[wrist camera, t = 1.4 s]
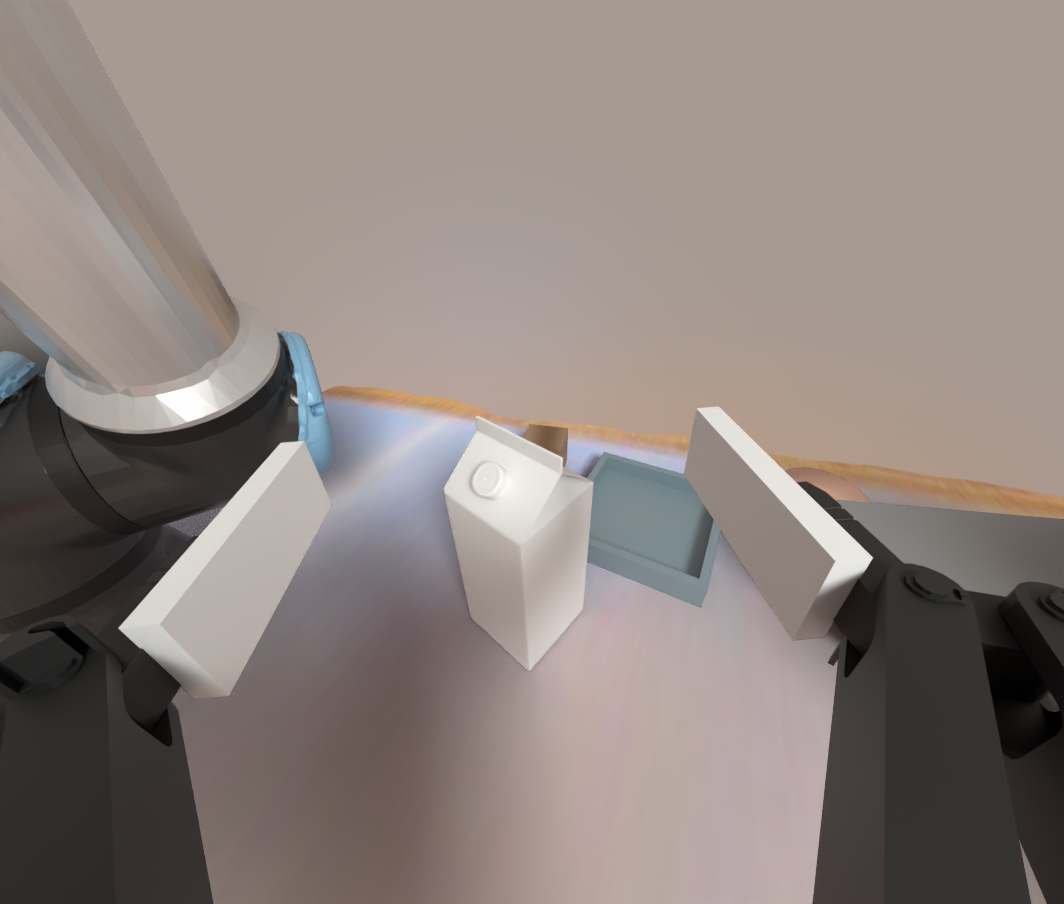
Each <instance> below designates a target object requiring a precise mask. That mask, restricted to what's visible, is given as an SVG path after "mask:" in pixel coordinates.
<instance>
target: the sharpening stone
mask: <svg viewBox="0 0 1064 904" xmlns="http://www.w3.org/2000/svg"><path fill="white" fill-rule="evenodd" d="M834 500H835V499H834ZM836 501H837V502H838V503H839V504H840V505H841V508H842V509H845V510H846V511H848V512H849V513H850V514H851V515H852V516H853V517H854V520H857V521H858V522H860V523H861V524H862V525H863V526H864V527H865V528H866V529H867V530H868V531H869V532H870V533H872V534H873V535H874V536H875V537H876V538H877V539H878V540H879V541H880V542H881V543H882V544H884V545H885V546H886V547H887V548H888V549H889V550H890V551H891V552H892V553H893V554H894V555H896V556H897V557H898V558H899V559H900V560H901V561H902V562H903V563H912V564H916V565H920V566H924V567H928V568H930V569H932V570H935V571H937V572H939V573H942V574H944V575H945V576H947V577H948V578H950V579H951V580H953V581H955V582H956V583H958V584H959V585H960V586H961V587H962V588H963V589H964V590H968V591H974V592H980V593H986V594H993V595H999V596H1005V597H1006V596H1007V595H1008V594H1009V593H1010V592H1011V591H1012V590H1013V589H1014V588H1015V587H1016V586H1017V585H1018V584H1020V583H1024V582H1028V581H1031V582H1040V583H1047V584H1050V585H1053V586H1057V587H1060V588H1064V519H1054V518H1042V517H1031V516H1019V515H1008V514H996V513H985V512H973V511H961V510H950V509H938V508H927V507H915V506H904V505H892V504H881V503H869V502H858V501H846V500H836ZM1048 697H1049V699H1050V700H1051V702H1052V704H1053V705H1054V706H1055V708H1056V709H1059V707H1058V704H1057V702H1056V701H1055V699H1054V698H1053V696H1052V694H1051V693H1050V694H1048ZM1059 710H1060V709H1059Z"/></svg>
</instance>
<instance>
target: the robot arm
mask: <svg viewBox="0 0 1064 904" xmlns="http://www.w3.org/2000/svg"><path fill="white" fill-rule="evenodd" d="M0 314H2V315H3V316H4V317H5V318H6V319H7V320H9V321H10V322H11V323H12V324H13V325H14V326H16V327H17V328H18V329H19V330H20V331H21V332H22V333H24V334H25V335H26V336H27V337H28V338H30V339H31V340H32V341H33V342H34V343H35V344H36V345H38V346H39V347H40V348H41V349H42V350H43V351H45V352H46V353H47V354H48V355H49V356H50V358H49V361H48V363H47V366H46V373H45V375H41V374H40V372H39V371H40V368H39V367H38V365H37V364H36V363H34V362H31V361H29V360H28V359H27V358H25V357H24V356H22V355H20V354H17V353H14V352H6V351H4V352H1V353H0V904H213V899H212V893H211V888H210V882H209V877H208V872H207V866H206V861H205V855H204V850H203V844H202V839H201V833H200V828H199V822H198V817H197V811H196V806H195V800H194V795H193V790H192V784H191V779H190V773H189V768H188V762H187V757H186V751H185V746H184V740H183V735H182V729H181V724H180V718H179V713H178V710H177V708H176V707H175V705H174V704H173V703H172V702H171V700H172V699H173V697H174V696H175V694H176V693H177V691H178V689H179V688H180V686H181V687H182V688H183V689H184V690H185V691H186V692H188V693H189V694H190V695H191V696H192V697H193V698H194V699H204V698H214V697H224V696H229V695H230V693H231V692H232V690H233V688H234V686H235V684H236V682H237V680H238V679H239V677H240V675H241V673H242V671H243V669H244V667H245V666H246V664H247V662H248V660H249V658H250V656H251V654H252V653H253V651H254V649H255V647H256V645H257V643H258V641H259V640H260V638H261V636H262V634H263V632H264V630H265V628H266V627H267V625H268V623H269V621H270V619H271V617H272V615H273V614H274V612H275V610H276V608H277V606H278V604H279V602H280V601H281V599H282V597H283V595H284V593H285V591H286V589H287V587H288V586H289V584H290V582H291V580H292V578H293V576H294V574H295V573H296V571H297V569H298V567H299V565H300V563H301V561H302V560H303V558H304V556H305V554H306V552H307V550H308V548H309V547H310V545H311V543H312V541H313V539H314V537H315V535H316V534H317V532H318V530H319V528H320V526H321V524H322V522H323V521H324V519H325V517H326V515H327V513H328V511H329V509H330V508H331V506H332V503H331V501H330V498H329V496H328V494H327V492H326V489H325V487H324V485H323V483H322V480H321V478H320V476H319V475H321V474H324V473H325V472H327V471H328V470H329V469H330V468H331V466H332V465H333V463H334V459H335V450H334V443H333V438H332V433H331V429H330V424H329V420H328V416H327V413H326V410H325V408H324V401H323V398H322V392H321V388H320V385H319V381H318V377H317V374H316V370H315V367H314V364H313V361H312V357H311V354H310V351H309V349H308V346H307V344H306V341H305V339H304V338H303V337H302V336H301V335H299V334H297V333H287V332H284V331H281V332H276V330H275V328H274V326H273V325H272V323H271V322H270V320H269V319H268V318H267V317H266V315H265V314H263V313H262V312H261V311H260V310H259V309H257V308H256V307H254V306H252V305H250V304H249V303H246V302H244V301H242V300H240V299H237V298H234V297H231V296H229V295H228V293H227V291H226V290H225V288H224V286H223V284H222V283H221V280H220V279H219V277H218V275H217V273H216V271H215V270H214V268H213V266H212V264H211V262H210V260H209V259H208V257H207V255H206V253H205V251H204V249H203V248H202V246H201V244H200V242H199V240H198V238H197V236H196V235H195V233H194V231H193V229H192V227H191V225H190V224H189V222H188V220H187V218H186V216H185V214H184V213H183V211H182V209H181V207H180V205H179V203H178V202H177V200H176V198H175V196H174V194H173V192H172V190H171V189H170V187H169V185H168V183H167V182H166V179H165V178H164V176H163V174H162V172H161V170H160V168H159V167H158V165H157V163H156V161H155V159H154V157H153V156H152V154H151V152H150V150H149V148H148V146H147V145H146V143H145V141H144V139H143V137H142V135H141V134H140V132H139V130H138V128H137V126H136V124H135V123H134V121H133V119H132V117H131V115H130V114H129V112H128V110H127V108H126V106H125V104H124V102H123V101H122V99H121V97H120V95H119V93H118V92H117V90H116V88H115V86H114V84H113V82H112V81H111V79H110V77H109V75H108V73H107V71H106V70H105V68H104V66H103V64H102V62H101V60H100V58H99V57H98V55H97V53H96V51H95V49H94V47H93V46H92V44H91V42H90V40H89V38H88V36H87V35H86V33H85V31H84V29H83V27H82V26H81V24H80V22H79V20H78V18H77V16H76V14H75V13H74V11H73V9H72V7H71V5H70V3H69V2H68V0H0ZM684 475H685V477H686V478H687V480H688V481H689V483H690V484H691V486H692V487H693V489H694V490H695V492H696V493H697V495H698V496H699V498H700V499H701V501H702V503H703V504H704V506H705V507H706V509H707V510H708V512H709V513H710V515H711V516H712V518H713V519H714V521H715V522H716V524H717V525H718V527H719V529H720V530H721V532H722V533H723V535H724V536H725V538H726V539H727V541H728V542H729V544H730V545H731V547H732V548H733V550H734V551H735V553H736V555H737V556H738V558H739V559H740V561H741V562H742V564H743V565H744V567H745V568H746V570H747V571H748V573H749V574H750V576H751V577H752V579H753V581H754V582H755V584H756V585H757V587H758V588H759V590H760V591H761V593H762V594H763V596H764V597H765V599H766V600H767V602H768V603H769V605H770V607H771V608H772V610H773V611H774V613H775V614H776V616H777V617H778V619H779V620H780V622H781V623H782V625H783V626H784V628H785V629H786V631H787V633H788V634H789V636H790V637H791V639H792V640H803V639H813V638H823V637H825V635H826V634H827V632H828V631H829V629H830V627H831V626H832V624H833V622H835V623H836V625H837V626H838V627H839V629H840V630H841V631H842V632H843V634H844V635H845V636H844V637H843V639H842V640H841V642H840V644H839V645H838V647H837V648H836V650H835V651H834V653H833V654H832V656H831V658H830V660H829V662H828V663H829V664H831V665H833V666H834V664H835V663H836V661H837V660H838V667H837V677H836V686H835V696H834V705H833V715H832V724H831V734H830V743H829V753H828V762H827V772H826V781H825V791H824V800H823V810H822V819H821V829H820V838H819V848H818V857H817V867H816V876H815V886H814V895H813V904H1031V900H1030V895H1029V890H1028V885H1027V879H1026V874H1025V869H1024V864H1023V858H1022V853H1021V848H1020V843H1019V840H1020V842H1021V845H1022V847H1023V849H1024V852H1025V854H1026V856H1027V858H1028V861H1029V863H1030V865H1031V868H1032V870H1033V872H1034V875H1035V877H1036V879H1037V882H1038V884H1039V886H1040V889H1041V891H1042V893H1043V895H1044V898H1045V900H1046V902H1047V904H1064V588H1060V587H1057V586H1053V585H1050V584H1047V583H1040V582H1031V581H1028V582H1024V583H1020V584H1018V585H1017V586H1016V587H1015V588H1014V589H1013V590H1012V591H1011V592H1010V593H1009V594H1008V595H1007V596H1006V597H1005V596H999V595H993V594H986V593H980V592H974V591H968V590H964V589H963V588H962V587H961V586H960V585H959V584H958V583H956V582H955V581H953V580H951V579H950V578H948V577H947V576H945V575H944V574H942V573H939V572H937V571H935V570H932V569H930V568H928V567H924V566H920V565H916V564H912V563H903V562H902V561H901V560H900V559H899V558H898V557H897V556H896V555H894V554H893V553H892V552H891V551H890V550H889V549H888V548H887V547H886V546H885V545H884V544H882V543H881V542H880V541H879V540H878V539H877V538H876V537H875V536H874V535H873V534H872V533H870V532H869V531H868V530H867V529H866V528H865V527H864V526H863V525H862V524H861V523H860V522H858V521H857V520H854V517H853V516H852V515H851V514H850V513H849V512H848V511H846V510H845V509H842V508H841V505H840V504H839V503H838V502H837V501H836V500H834V499H833V498H832V497H831V496H830V495H829V494H828V493H827V492H825V491H823V490H822V489H820V488H818V487H816V486H814V485H813V484H811V483H809V482H807V481H803V482H795V481H794V480H793V479H792V478H791V477H790V476H789V475H788V474H787V473H786V472H785V471H784V470H783V469H782V468H781V467H780V466H779V465H778V464H777V463H776V462H775V461H774V460H773V459H772V458H771V457H770V456H769V455H768V454H767V453H765V451H763V450H762V449H761V448H760V447H759V446H758V445H757V444H756V443H755V442H754V441H753V440H752V439H751V438H750V437H749V436H748V435H747V434H746V433H745V432H744V431H743V430H742V429H741V428H740V427H739V426H738V425H737V424H736V423H735V422H734V421H733V420H732V419H731V418H730V417H729V416H728V415H727V414H726V413H725V412H724V411H723V410H722V409H720V407H709V408H697V409H696V414H695V419H694V425H693V429H692V435H691V439H690V444H689V450H688V455H687V460H686V465H685V470H684ZM222 506H225V507H224V508H223V509H222V510H221V512H220V513H219V514H218V515H217V516H216V517H215V518H214V520H213V521H212V522H211V523H210V524H209V525H208V526H207V528H206V529H205V530H204V531H203V532H202V533H201V534H200V536H194V537H190V536H188V535H186V534H184V533H182V532H180V531H179V530H177V529H175V528H173V527H171V526H169V525H167V523H170V522H173V521H177V520H180V519H183V518H186V517H190V516H193V515H196V514H199V513H203V512H206V511H209V510H212V509H216V508H219V507H222ZM1050 693H1051V694H1052V696H1053V698H1054V699H1055V701H1056V702H1057V704H1058V707H1059V709H1060V711H1058V710H1057V709H1056V708H1055V706H1054V705H1053V704H1052V702H1051V700H1050V699H1049V697H1048V694H1050Z"/></svg>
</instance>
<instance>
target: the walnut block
mask: <svg viewBox="0 0 1064 904" xmlns="http://www.w3.org/2000/svg"><path fill="white" fill-rule="evenodd" d="M523 438H524V439H526V440H528V441H530V442H532V443H534V444H536V445H538V446H540V447H542V448H544V449H546V450H548V451H550V452H552V453H554V454H556V455H558V456H560V457H562V458H563V467H565V464H566V461H567V440H568V428H560V427H551V426H541V425H532V424H529V426H528V428H527V431H526V433H525V435H524V437H523Z"/></svg>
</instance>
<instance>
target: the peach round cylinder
mask: <svg viewBox="0 0 1064 904" xmlns="http://www.w3.org/2000/svg"><path fill="white" fill-rule="evenodd" d="M785 472H786V473H787V474H788V475H789V476H790V477H791V478H792V479H793V480H794V481H795V482H803V481H807V482H809V483H811V484H813V485H814V486H816V487H818V488H820V489H822V490H823V491H825V492H827V493H828V494H829V495H830V496H831V497H832V498H833V499H835V500H846V501H858V502H869V500H868V498H867V497H866V496H865V494H864V493H863V492H862V491H861V490H860V489H859V488H857V487H856V486H855V485H853V484H852V483H850V482H849V481H847V480H845V479H843V478H841V477H839V476H837V475H834V474H832V473H829V472H826V471H822V470H818V469H812V468H793V469H789V470H786V471H785ZM869 503H870V502H869Z"/></svg>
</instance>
